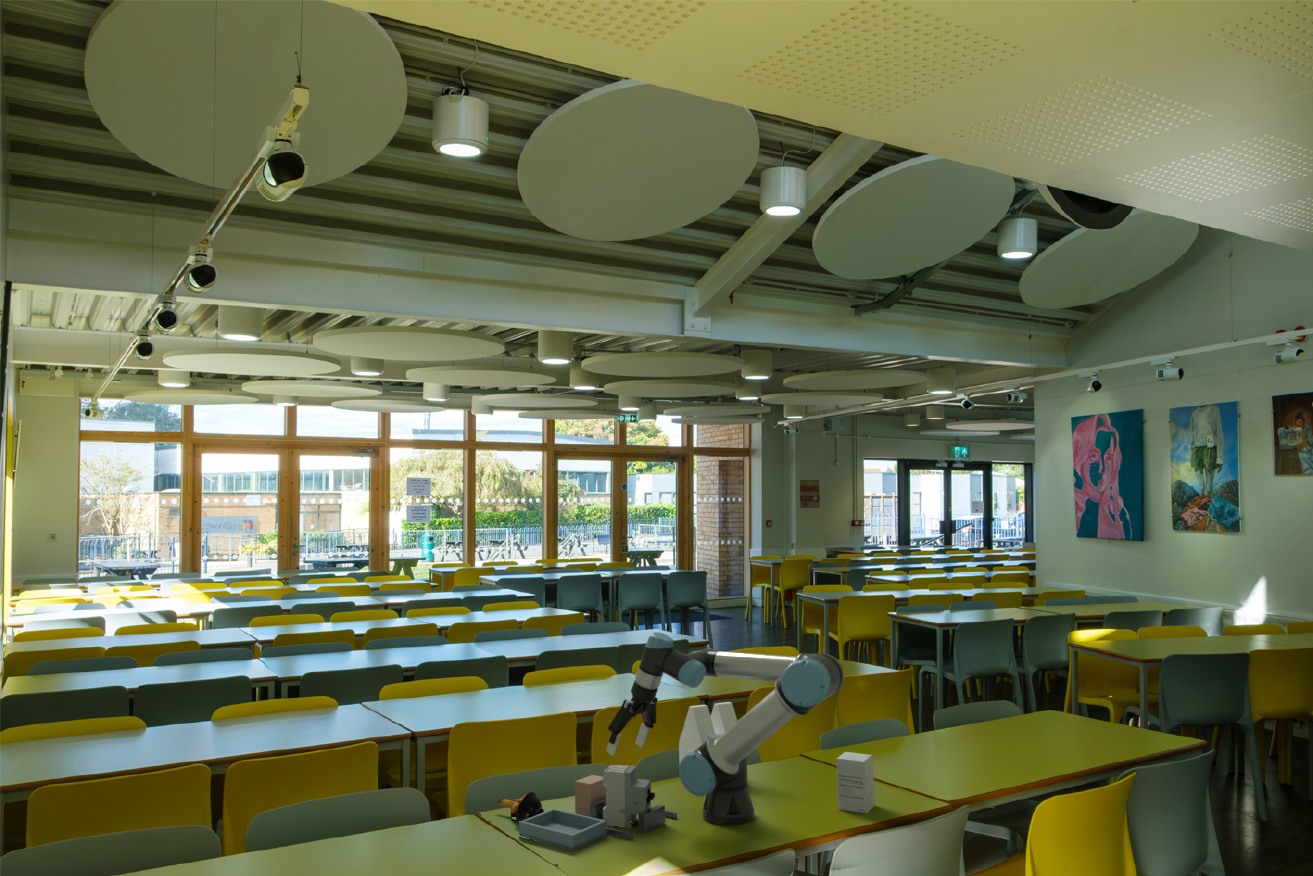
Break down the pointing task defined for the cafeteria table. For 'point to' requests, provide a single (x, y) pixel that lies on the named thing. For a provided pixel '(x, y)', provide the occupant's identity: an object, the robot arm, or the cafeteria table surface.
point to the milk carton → (704, 725)
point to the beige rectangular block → (588, 793)
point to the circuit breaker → (625, 795)
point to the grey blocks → (645, 819)
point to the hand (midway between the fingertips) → (624, 749)
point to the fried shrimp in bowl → (523, 806)
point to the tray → (563, 829)
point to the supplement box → (855, 782)
